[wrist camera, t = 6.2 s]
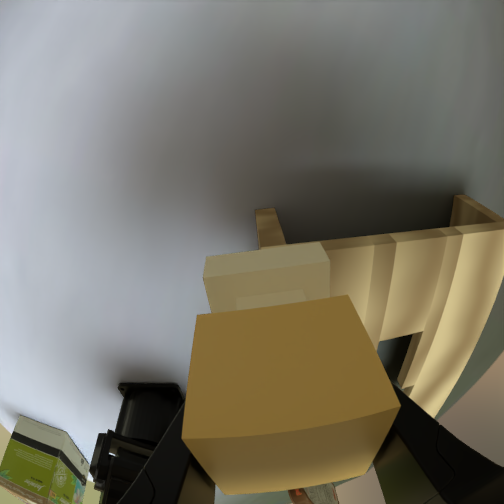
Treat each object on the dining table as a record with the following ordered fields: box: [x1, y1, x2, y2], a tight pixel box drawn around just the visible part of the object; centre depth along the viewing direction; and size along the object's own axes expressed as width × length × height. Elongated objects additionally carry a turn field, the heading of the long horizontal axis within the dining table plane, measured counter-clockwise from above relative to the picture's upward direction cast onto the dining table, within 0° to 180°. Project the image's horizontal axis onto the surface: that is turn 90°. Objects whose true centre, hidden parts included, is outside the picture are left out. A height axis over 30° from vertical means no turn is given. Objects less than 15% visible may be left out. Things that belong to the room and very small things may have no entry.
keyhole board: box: [255, 195, 504, 418], centre depth 21 cm, size 16×22×6 cm
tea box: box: [0, 415, 90, 504], centre depth 29 cm, size 15×10×15 cm
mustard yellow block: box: [181, 242, 401, 495], centre depth 9 cm, size 4×4×8 cm
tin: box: [288, 482, 339, 504], centre depth 37 cm, size 15×3×8 cm, turn 35°
